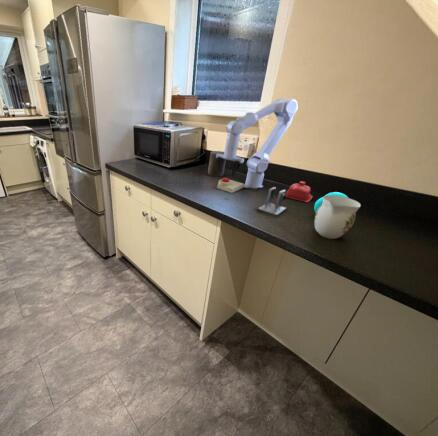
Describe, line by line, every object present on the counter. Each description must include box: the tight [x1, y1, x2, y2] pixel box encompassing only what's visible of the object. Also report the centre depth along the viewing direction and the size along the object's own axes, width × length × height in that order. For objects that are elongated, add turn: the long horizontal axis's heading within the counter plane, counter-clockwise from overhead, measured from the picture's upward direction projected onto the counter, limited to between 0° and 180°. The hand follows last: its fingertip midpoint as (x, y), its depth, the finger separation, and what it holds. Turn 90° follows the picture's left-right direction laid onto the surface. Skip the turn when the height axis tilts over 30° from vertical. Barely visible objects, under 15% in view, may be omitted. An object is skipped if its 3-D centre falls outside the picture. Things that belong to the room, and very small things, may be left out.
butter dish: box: [285, 180, 314, 203], centre depth 113 cm, size 12×12×8 cm
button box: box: [216, 178, 245, 194], centre depth 126 cm, size 12×10×4 cm
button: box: [221, 177, 230, 182], centre depth 124 cm, size 4×4×2 cm
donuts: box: [313, 191, 349, 214], centre depth 95 cm, size 10×10×10 cm
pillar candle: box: [207, 150, 227, 178], centre depth 144 cm, size 10×10×15 cm
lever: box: [272, 189, 287, 201], centre depth 102 cm, size 12×3×3 cm, turn 132°
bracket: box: [257, 186, 287, 216], centre depth 100 cm, size 10×8×10 cm
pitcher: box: [313, 195, 362, 240], centre depth 83 cm, size 11×18×14 cm, turn 127°
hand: (226, 173), depth 121 cm, fingers open, 7 cm apart
